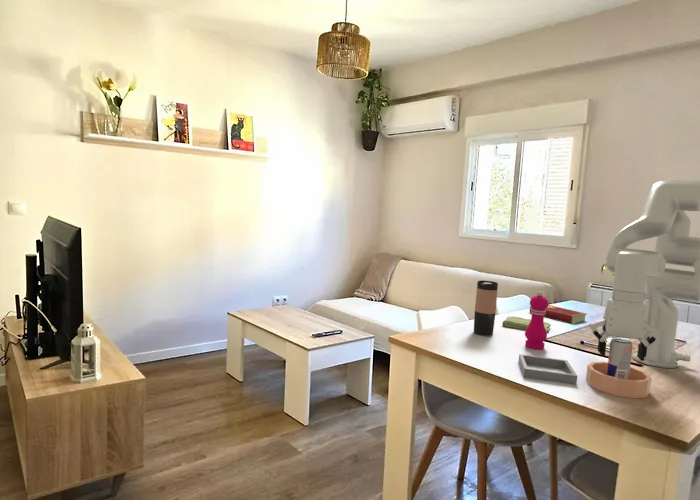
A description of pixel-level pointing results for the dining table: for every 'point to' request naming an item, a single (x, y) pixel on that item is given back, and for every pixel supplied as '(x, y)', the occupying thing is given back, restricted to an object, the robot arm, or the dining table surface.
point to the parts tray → (547, 375)
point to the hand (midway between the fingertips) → (621, 356)
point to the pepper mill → (537, 323)
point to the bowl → (618, 381)
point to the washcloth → (520, 323)
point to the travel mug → (485, 308)
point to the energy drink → (619, 358)
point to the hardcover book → (564, 314)
